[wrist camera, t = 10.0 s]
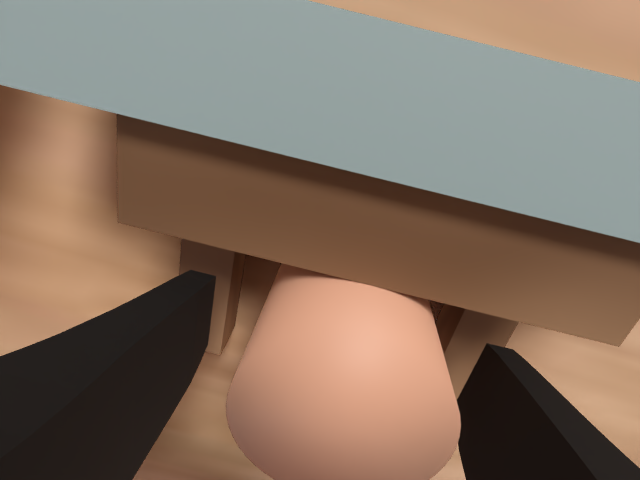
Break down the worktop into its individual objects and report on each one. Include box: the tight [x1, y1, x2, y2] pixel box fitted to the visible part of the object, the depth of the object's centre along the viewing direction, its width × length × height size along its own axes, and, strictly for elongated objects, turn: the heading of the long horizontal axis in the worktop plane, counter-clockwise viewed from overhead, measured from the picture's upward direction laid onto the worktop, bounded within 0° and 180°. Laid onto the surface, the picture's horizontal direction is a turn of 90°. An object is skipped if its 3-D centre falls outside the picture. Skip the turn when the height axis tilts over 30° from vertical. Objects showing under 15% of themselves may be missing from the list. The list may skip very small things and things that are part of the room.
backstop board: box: [0, 0, 640, 243], centre depth 8 cm, size 2×14×5 cm, turn 77°
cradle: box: [117, 114, 640, 401], centre depth 10 cm, size 8×10×4 cm
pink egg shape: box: [226, 263, 461, 480], centre depth 9 cm, size 4×4×6 cm
